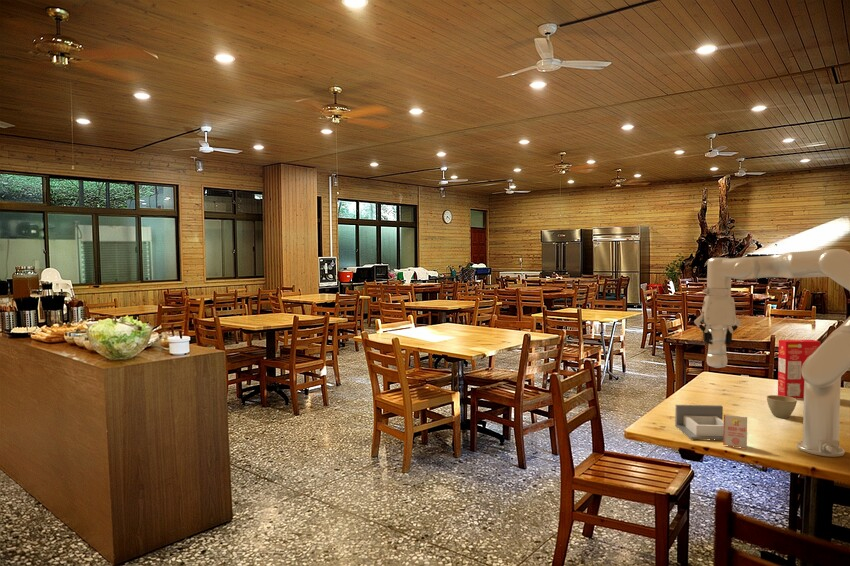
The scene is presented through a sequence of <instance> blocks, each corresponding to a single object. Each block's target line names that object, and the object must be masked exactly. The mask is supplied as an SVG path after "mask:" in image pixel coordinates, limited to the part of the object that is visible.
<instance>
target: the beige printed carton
mask: <svg viewBox="0 0 850 566" xmlns="http://www.w3.org/2000/svg"><path fill="white" fill-rule="evenodd" d="M723 421H724V431H723V441H722V442H723V443H722V446H723V445H728V446H734V447H741V448H740V449H742V448H747V449H748V416H741V415H739V416H738V415H731V414H724V415H723ZM734 447H733V448H734Z"/></svg>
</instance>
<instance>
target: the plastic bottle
mask: <svg viewBox="0 0 850 566" xmlns="http://www.w3.org/2000/svg"><path fill="white" fill-rule="evenodd" d="M727 332H728V326H725V325H716V326H713V325H711V327H710V329H709V331H708V333H710V341H709V344H708V346H707V347H708V350H707V355H706V364H707V366H709V367H712V368H714V369H720V368H726V367H727V365H728V362H729V361H728V355H727V344H726V337H727Z"/></svg>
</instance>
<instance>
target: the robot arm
mask: <svg viewBox="0 0 850 566" xmlns="http://www.w3.org/2000/svg"><path fill="white" fill-rule="evenodd" d="M706 270H707V271H706V272H707V274H706V288H705V289H702V293H703V294H705V296H704V299H703V303H702V309H701V314H700V315H699V316H698V317H696V319H694V321H693V323H694V324H695V326H696V327H698V328H699V329H700V330H701V332H702V341H703V342H704V344H707V345H709V341H710V333H708V331H709V329H710V327H711V325H713V326H716V325H725V326H728V332H727V337H726V345H731V343H732V340H733V333H735V331H736V330H737V329H738V328H739V327H740V326H741V325H742V324H743V322H742V321H741V320H740V319H739V318H738V317H737V316H736V306H735V305H736V304H735V299H734V297H732V279H734V280H735V279H736V280H749V279H762V278H785V279H802V278H804V279H805V278H824V277H825V278H826V277H829V278H830V279H831V280H833V281H834V282H836V283H837V284H838V285H840V286H841V287H843V288H844V289H846V290H847V291H849V292H850V252H849V251H848V250H846V249H842V248H832V249H819V250H805V251H804V250H803V251H792V252H785V253H781V254H776V255H775V254H773V255H762V256H761V255H759V256H743V257H734V258H733V257H732V258H730V257H729V258H728V257H711V258H709V259H707V269H706ZM848 370H850V316H848V317H847V318H846V320H844V322H842V324H841V325H840V326H838V327H837V328H836V329H834V330H833V331H832V332H831V333H830V334H829V335H828V336H827V338H825V340H823V342H822V343H820V346H819V347H818V348H817V349H816V350H815V352H814V353H813V354H812V355H810V356H809V357H808V358H807V359H806V360H805V362H804V363H803V365H802V368H801V372H802V376H803V378H804V379H805V382H804V399H803V410H802V413H803V414H802V416H803V418H802V421H803V422H802V440H800V441H798V442H797V443H796V448H797V449H799V450H800V451H803V452H804V453H807V454H811V455H816V456H822V457H831V458H832V457H836V458H837V457H842V456H844V455H845V453H846V450H845V449H844V448H843V447H841V446H840V441H839V440H840V408H841V387H842V386H841V385H842V384H841V383H842V376H843V375H844V374H845V373H846V372H847V371H848Z"/></svg>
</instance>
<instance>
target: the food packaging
mask: <svg viewBox="0 0 850 566" xmlns="http://www.w3.org/2000/svg"><path fill="white" fill-rule="evenodd" d="M820 345H821V341H820V340H817V339H816V340H815V339H778V356H777V357H778V364H777V366H778V368H777V369H778V371H777V395H779V396H787V397H792V398H804V382H805V379H804V378H803V376H802V372H801V368H802V365H803V363H804V362H805V360H806V359H807V358H808V357H809V356H810V355H812V354H813V353H814V352H815V350H816V349H817V348H818V347H819V346H820Z"/></svg>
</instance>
